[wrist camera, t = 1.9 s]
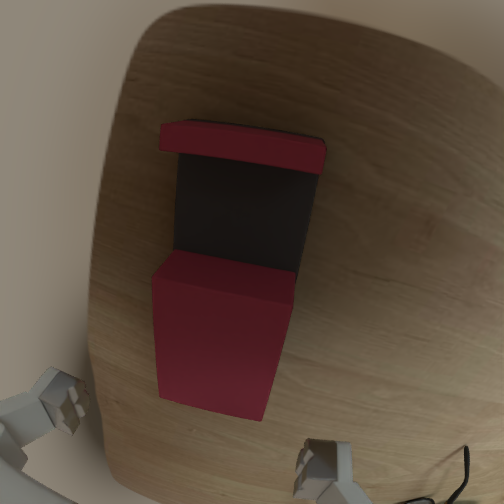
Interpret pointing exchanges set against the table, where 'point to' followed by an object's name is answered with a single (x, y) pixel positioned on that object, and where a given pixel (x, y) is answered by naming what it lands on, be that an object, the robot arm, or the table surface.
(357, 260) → the table surface
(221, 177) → the red and black block
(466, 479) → the sunglasses
